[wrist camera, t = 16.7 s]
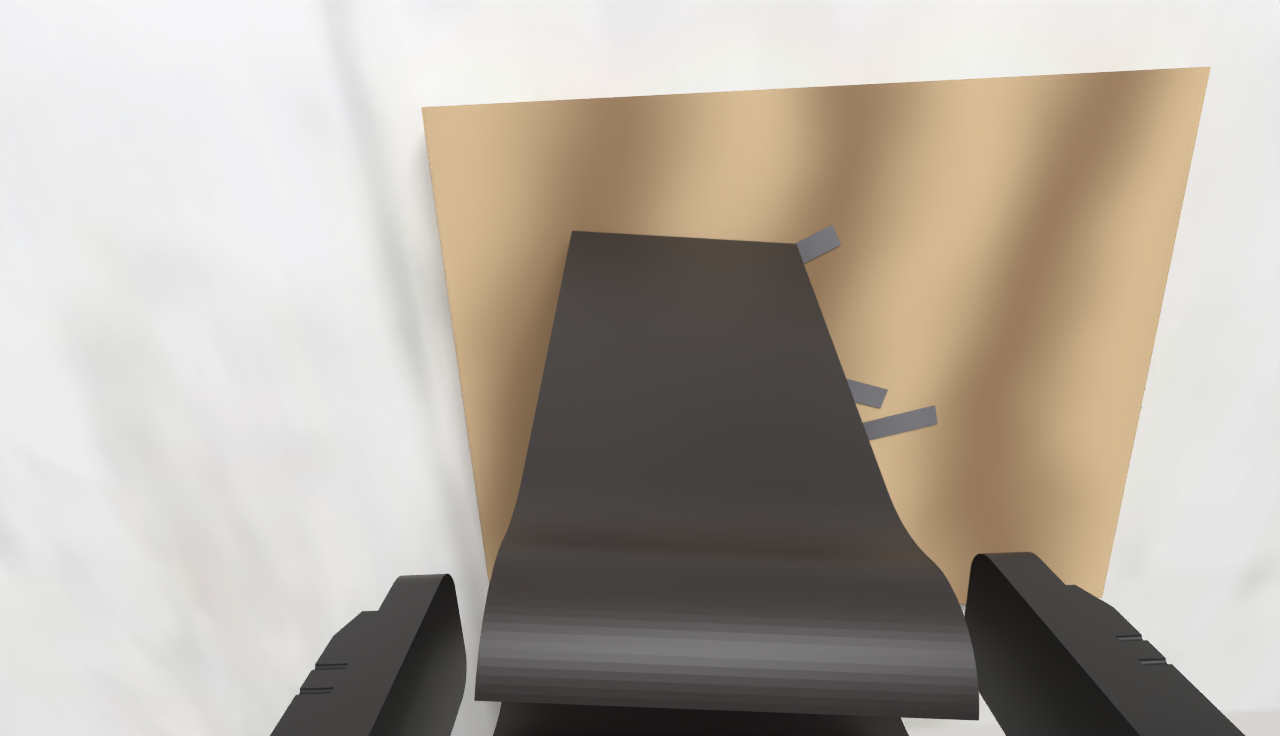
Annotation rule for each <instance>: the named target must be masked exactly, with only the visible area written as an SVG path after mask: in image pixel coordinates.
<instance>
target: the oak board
mask: <svg viewBox="0 0 1280 736" xmlns="http://www.w3.org/2000/svg"><path fill="white" fill-rule="evenodd" d="M1209 72H1210V67H1196V68H1177V69H1158V70H1138V71H1119V72H1099V73H1080V74H1061V75H1041V76H1022V77H1002V78H983V79H963V80H944V81H925V82H905V83H886V84H866V85H847V86H828V87H808V88H789V89H769V90H750V91H731V92H711V93H692V94H672V95H653V96H634V97H614V98H595V99H575V100H556V101H537V102H517V103H498V104H478V105H459V106H439V107H422V115H423V122H424V129H425V136H426V143H427V150H428V157H429V164H430V171H431V178H432V185H433V192H434V199H435V206H436V213H437V220H438V227H439V234H440V241H441V248H442V255H443V262H444V269H445V276H446V283H447V290H448V297H449V305H450V312H451V319H452V326H453V333H454V340H455V347H456V354H457V361H458V368H459V375H460V382H461V389H462V396H463V403H464V410H465V417H466V424H467V431H468V438H469V445H470V452H471V459H472V466H473V473H474V480H475V487H476V494H477V502H478V509H479V516H480V523H481V530H482V537H483V544H484V551H485V558H486V565H487V572H488V579H489V584H490V580H491V575H492V571H493V567H494V563H495V560H496V556H497V553H498V550H499V548H500V545H501V543H502V540H503V538H504V536H505V534H506V532H507V529H508V527H509V524H510V521H511V518H512V515H513V511H514V508H515V504H516V501H517V497H518V493H519V489H520V484H521V480H522V475H523V470H524V465H525V460H526V455H527V450H528V445H529V440H530V435H531V431H532V426H533V421H534V416H535V411H536V406H537V401H538V396H539V391H540V386H541V381H542V376H543V371H544V366H545V362H546V357H547V352H548V347H549V342H550V337H551V332H552V327H553V322H554V317H555V312H556V307H557V302H558V297H559V293H560V288H561V283H562V278H563V273H564V268H565V263H566V258H567V253H568V248H569V243H570V238H571V233H572V231H588V232H605V233H622V234H639V235H657V236H674V237H691V238H708V239H725V240H742V241H759V242H777V243H794V244H797V247H798V250H799V252H800V255H801V258H802V260H803V263H804V266H805V268H806V271H807V274H808V277H809V279H810V282H811V285H812V287H813V290H814V293H815V296H816V298H817V301H818V304H819V306H820V309H821V312H822V314H823V317H824V320H825V323H826V325H827V328H828V331H829V333H830V336H831V339H832V341H833V344H834V347H835V350H836V352H837V355H838V358H839V360H840V363H841V366H842V369H843V371H844V374H845V377H846V379H847V382H848V385H849V387H850V390H851V393H852V396H853V398H854V401H855V404H856V406H857V409H858V412H859V414H860V417H861V420H862V423H863V425H864V428H865V431H866V433H867V436H868V439H869V442H870V444H871V447H872V450H873V452H874V455H875V458H876V460H877V463H878V466H879V469H880V471H881V474H882V477H883V479H884V482H885V485H886V487H887V490H888V493H889V495H890V498H891V500H892V503H893V505H894V507H895V510H896V512H897V514H898V516H899V518H900V519H901V521H902V523H903V525H904V527H905V528H906V530H907V531H908V533H909V534H910V536H911V537H912V539H913V540H914V541H915V543H916V544H917V545H918V546H919V548H920V549H921V550H922V551H923V552H924V553H925V554H926V555H927V556H928V557H929V558H930V559H931V560H932V561H933V562H935V564H936V565H937V566H938V567H939V568H940V569H941V571H942V572H943V573H944V575H945V576H946V578H947V580H948V581H949V583H950V585H951V587H952V589H953V591H954V593H955V595H956V597H957V599H958V602H959V604H966V601H967V593H968V585H969V577H970V569H971V564H972V561H973V559H974V557H975V556H976V555H977V554H983V553H1007V552H1032V553H1034V554H1036V555H1037V556H1038V557H1039V558H1040V559H1041V560H1042V561H1043V562H1044V563H1045V564H1046V565H1047V566H1048V567H1049V568H1050V569H1051V570H1052V571H1053V572H1054V573H1055V574H1056V575H1057V576H1058V577H1059V578H1060V579H1061V581H1062V582H1063V583H1064V584H1065V585H1077V586H1078V587H1080V588H1082V589H1083V590H1085V591H1087V592H1088V593H1090V594H1092V595H1093V596H1095V597H1097V598H1102V595H1103V590H1104V586H1105V581H1106V576H1107V571H1108V566H1109V561H1110V556H1111V551H1112V546H1113V542H1114V537H1115V532H1116V527H1117V522H1118V517H1119V512H1120V507H1121V502H1122V498H1123V493H1124V488H1125V483H1126V478H1127V473H1128V468H1129V463H1130V458H1131V453H1132V449H1133V444H1134V439H1135V434H1136V429H1137V424H1138V419H1139V414H1140V409H1141V405H1142V400H1143V395H1144V390H1145V385H1146V380H1147V375H1148V370H1149V365H1150V361H1151V356H1152V351H1153V346H1154V341H1155V336H1156V331H1157V326H1158V321H1159V317H1160V312H1161V307H1162V302H1163V297H1164V292H1165V287H1166V282H1167V277H1168V273H1169V268H1170V263H1171V258H1172V253H1173V248H1174V243H1175V238H1176V233H1177V229H1178V224H1179V219H1180V214H1181V209H1182V204H1183V199H1184V194H1185V189H1186V185H1187V180H1188V175H1189V170H1190V165H1191V160H1192V155H1193V150H1194V145H1195V141H1196V136H1197V131H1198V126H1199V121H1200V116H1201V111H1202V106H1203V101H1204V97H1205V92H1206V87H1207V82H1208V77H1209Z"/></svg>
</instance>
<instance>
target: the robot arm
mask: <svg viewBox="0 0 1280 736" xmlns="http://www.w3.org/2000/svg"><path fill="white" fill-rule="evenodd" d="M964 618H965V621H966V624H967V627H968V631H969V634H970V639H971V643H972V647H973V652H974V658H975V664H976V670H977V679H978V691H979V693H980V694H981V696H982V697H983V699H984V701H985V702H986V704H987V705H988V707H989V709H990V710H991V712H992V714H993V715H994V717H995V718H996V720H997V722H998V723H999V725H1000V726H1001V728H1002V730H1003V731H1004V733H1005V735H1006V736H1245V735H1244V734H1243V733H1242V732H1241V731H1240V730H1239V729H1238V728H1237V727H1236V726H1235V725H1234V724H1233V723H1231V722H1230V720H1229V719H1227V718H1226V717H1225V716H1224V715H1223V714H1222V713H1221V712H1220V711H1219V710H1218V709H1217V708H1216V707H1215V706H1214V705H1213V704H1212V703H1211V702H1210V701H1209V700H1208V699H1207V698H1206V697H1205V696H1204V695H1203V694H1202V693H1201V692H1200V691H1199V690H1198V689H1197V688H1196V687H1195V686H1194V685H1193V684H1192V683H1191V682H1189V681H1188V680H1187V679H1186V678H1185V677H1184V676H1183V675H1182V674H1181V673H1180V672H1179V671H1178V670H1177V669H1176V668H1175V667H1174V666H1173V665H1172V664H1167V663H1166V660H1165V659H1166V658H1165V657H1164V656H1163V655H1162V654H1161V653H1160V652H1159V651H1158V650H1157V649H1156V648H1155V647H1154V646H1153V645H1151V644H1150V643H1149V642H1148V641H1147V640H1145V641H1143V639H1142V636H1141V634H1140V633H1139V632H1138V631H1137V630H1136V629H1135V628H1134V627H1133V626H1132V625H1131V624H1130V623H1129V622H1128V621H1127V620H1126V619H1125V618H1124V617H1123V616H1122V615H1121V614H1120V613H1119V612H1118V611H1117V610H1116V609H1115V608H1113V607H1112V606H1110V605H1109V604H1107V603H1105V602H1104V601H1102V600H1100V599H1098V598H1097V597H1095V596H1093V595H1092V594H1090V593H1088V592H1087V591H1085V590H1083V589H1082V588H1080V587H1078V586H1077V585H1065V584H1064V583H1063V582H1062V581H1061V579H1060V578H1059V577H1058V576H1057V575H1056V574H1055V573H1054V572H1053V571H1052V570H1051V569H1050V568H1049V567H1048V566H1047V565H1046V564H1045V563H1044V562H1043V561H1042V560H1041V559H1040V558H1039V557H1038V556H1037V555H1036V554H1034V553H1032V552H1007V553H983V554H977V555H976V556H975V557H974V559H973V561H972V564H971V569H970V577H969V585H968V593H967V601H966V609H965V617H964ZM465 682H466V652H465V645H464V639H463V633H462V627H461V621H460V615H459V609H458V603H457V597H456V590H455V585H454V581H453V579H452V577H451V575H449V574H433V575H409V576H400V577H398V578H397V579H396V581H395V582H394V584H393V586H392V587H391V589H390V591H389V593H388V594H387V596H386V598H385V600H384V601H383V603H382V605H381V607H380V608H379V610H378V611H362V612H361V613H360V614H359V615H358V616H356V617H355V618H354V619H353V620H352V621H350V622H349V623H348V624H347V625H346V626H345V627H343V628H342V629H341V630H340V631H339V632H338V633H336V634H335V635H334V636H333V637H332V639H331V641H330V642H329V644H328V645H327V647H326V648H325V650H324V652H323V653H322V655H321V656H320V658H319V659H318V661H317V663H316V664H315V670H312V671H311V672H310V674H309V675H308V677H307V678H306V680H305V682H304V683H303V685H302V686H301V688H300V694H299V695H296V696H295V697H294V699H293V700H292V702H291V704H290V705H289V707H288V708H287V710H286V711H285V713H284V715H283V716H282V718H281V719H280V721H279V722H278V724H277V726H276V727H275V729H274V730H273V732H272V733H271V735H270V736H450V735H451V732H452V729H453V726H454V723H455V720H456V716H457V713H458V710H459V707H460V704H461V701H462V698H463V694H464V689H465Z"/></svg>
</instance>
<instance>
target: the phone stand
mask: <svg viewBox="0 0 1280 736" xmlns="http://www.w3.org/2000/svg"><path fill="white" fill-rule="evenodd" d="M475 701H497V702H502V704H501V709H500V713H499V717H498V721H497V725H496V728H495V731H494V734H493V736H909V735H908V733H907V731H906V729H905V727H904V725H903V722H902V720H901V717H905V718H931V719H957V720H979V691H978V679H977V670H976V664H975V658H974V652H973V647H972V643H971V639H970V634H969V631H968V627H967V624H966V621H965V618H964V615H963V612H962V609H961V606H960V604H959V602H958V599H957V597H956V595H955V593H954V591H953V589H952V587H951V585H950V583H949V581H948V580H947V578H946V576H945V575H944V573H943V572H942V571H941V569H940V568H939V567H938V566H937V565H936V564H935V562H933V561H932V560H931V559H930V558H929V557H928V556H927V555H926V554H925V553H924V552H923V551H922V550H921V549H920V548H919V546H918V545H917V544H916V543H915V541H914V540H913V539H912V537H911V536H910V534H909V533H908V531H907V530H906V528H905V527H904V525H903V523H902V521H901V519H900V518H899V516H898V514H897V512H896V510H895V507H894V505H893V503H892V500H891V498H890V495H889V493H888V490H887V487H886V485H885V482H884V479H883V477H882V474H881V471H880V469H879V466H878V463H877V460H876V458H875V455H874V452H873V450H872V447H871V444H870V442H869V439H868V436H867V433H866V431H865V428H864V425H863V423H862V420H861V417H860V414H859V412H858V409H857V406H856V404H855V401H854V398H853V396H852V393H851V390H850V387H849V385H848V382H847V379H846V377H845V374H844V371H843V369H842V366H841V363H840V360H839V358H838V355H837V352H836V350H835V347H834V344H833V341H832V339H831V336H830V333H829V331H828V328H827V325H826V323H825V320H824V317H823V314H822V312H821V309H820V306H819V304H818V301H817V298H816V296H815V293H814V290H813V287H812V285H811V282H810V279H809V277H808V274H807V271H806V268H805V266H804V263H803V260H802V258H801V255H800V252H799V250H798V247H797V244H794V243H777V242H759V241H742V240H725V239H708V238H691V237H674V236H657V235H639V234H622V233H605V232H588V231H572V233H571V238H570V243H569V248H568V253H567V258H566V263H565V268H564V273H563V278H562V283H561V288H560V293H559V297H558V302H557V307H556V312H555V317H554V322H553V327H552V332H551V337H550V342H549V347H548V352H547V357H546V362H545V366H544V371H543V376H542V381H541V386H540V391H539V396H538V401H537V406H536V411H535V416H534V421H533V426H532V431H531V435H530V440H529V445H528V450H527V455H526V460H525V465H524V470H523V475H522V480H521V484H520V489H519V493H518V497H517V501H516V504H515V508H514V511H513V515H512V518H511V521H510V524H509V527H508V529H507V532H506V534H505V536H504V538H503V540H502V543H501V545H500V548H499V550H498V553H497V556H496V560H495V563H494V567H493V571H492V575H491V580H490V584H489V589H488V594H487V599H486V605H485V611H484V617H483V623H482V630H481V637H480V645H479V653H478V663H477V673H476V685H475Z"/></svg>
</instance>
